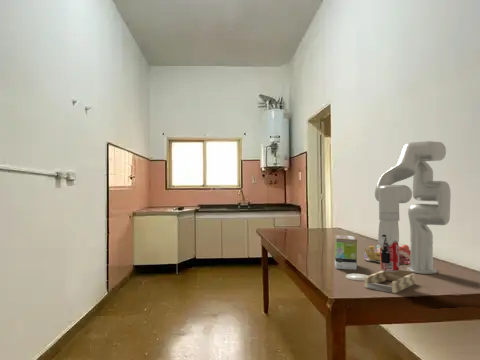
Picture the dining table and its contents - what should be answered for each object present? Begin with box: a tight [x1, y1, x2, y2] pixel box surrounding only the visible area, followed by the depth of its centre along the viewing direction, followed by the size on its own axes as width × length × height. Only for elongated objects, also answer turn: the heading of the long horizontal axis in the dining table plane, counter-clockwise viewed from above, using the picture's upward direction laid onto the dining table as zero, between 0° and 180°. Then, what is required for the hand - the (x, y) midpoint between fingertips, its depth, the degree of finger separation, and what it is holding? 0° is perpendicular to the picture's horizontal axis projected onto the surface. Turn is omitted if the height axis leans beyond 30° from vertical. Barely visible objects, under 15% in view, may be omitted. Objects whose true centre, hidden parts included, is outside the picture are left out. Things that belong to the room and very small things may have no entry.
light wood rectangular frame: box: [364, 268, 416, 294], centre depth 153 cm, size 20×12×5 cm, turn 137°
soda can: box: [379, 241, 400, 272], centre depth 153 cm, size 7×7×12 cm
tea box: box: [334, 234, 358, 271], centre depth 191 cm, size 15×10×15 cm, turn 168°
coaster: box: [345, 273, 369, 282], centre depth 166 cm, size 10×10×1 cm
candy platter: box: [363, 244, 410, 266], centre depth 208 cm, size 25×24×9 cm
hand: (389, 260), depth 153 cm, fingers closed on soda can, 7 cm apart
